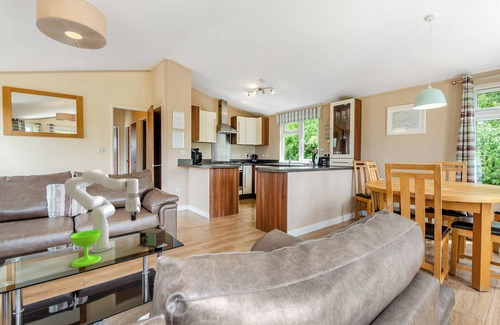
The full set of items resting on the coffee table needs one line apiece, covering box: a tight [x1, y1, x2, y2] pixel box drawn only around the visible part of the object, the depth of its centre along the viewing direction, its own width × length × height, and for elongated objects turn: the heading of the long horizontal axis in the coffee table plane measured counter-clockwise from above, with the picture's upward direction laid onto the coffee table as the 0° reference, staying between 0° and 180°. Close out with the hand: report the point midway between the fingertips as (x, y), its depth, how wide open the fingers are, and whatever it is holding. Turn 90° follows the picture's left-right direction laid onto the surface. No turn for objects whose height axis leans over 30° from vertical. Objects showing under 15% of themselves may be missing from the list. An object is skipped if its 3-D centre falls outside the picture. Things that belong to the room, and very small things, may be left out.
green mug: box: [142, 233, 156, 247], centre depth 167 cm, size 8×6×9 cm
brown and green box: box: [137, 227, 166, 249], centre depth 175 cm, size 16×12×10 cm
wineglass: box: [69, 229, 102, 268], centre depth 146 cm, size 16×16×18 cm
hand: (133, 220), depth 165 cm, fingers closed
